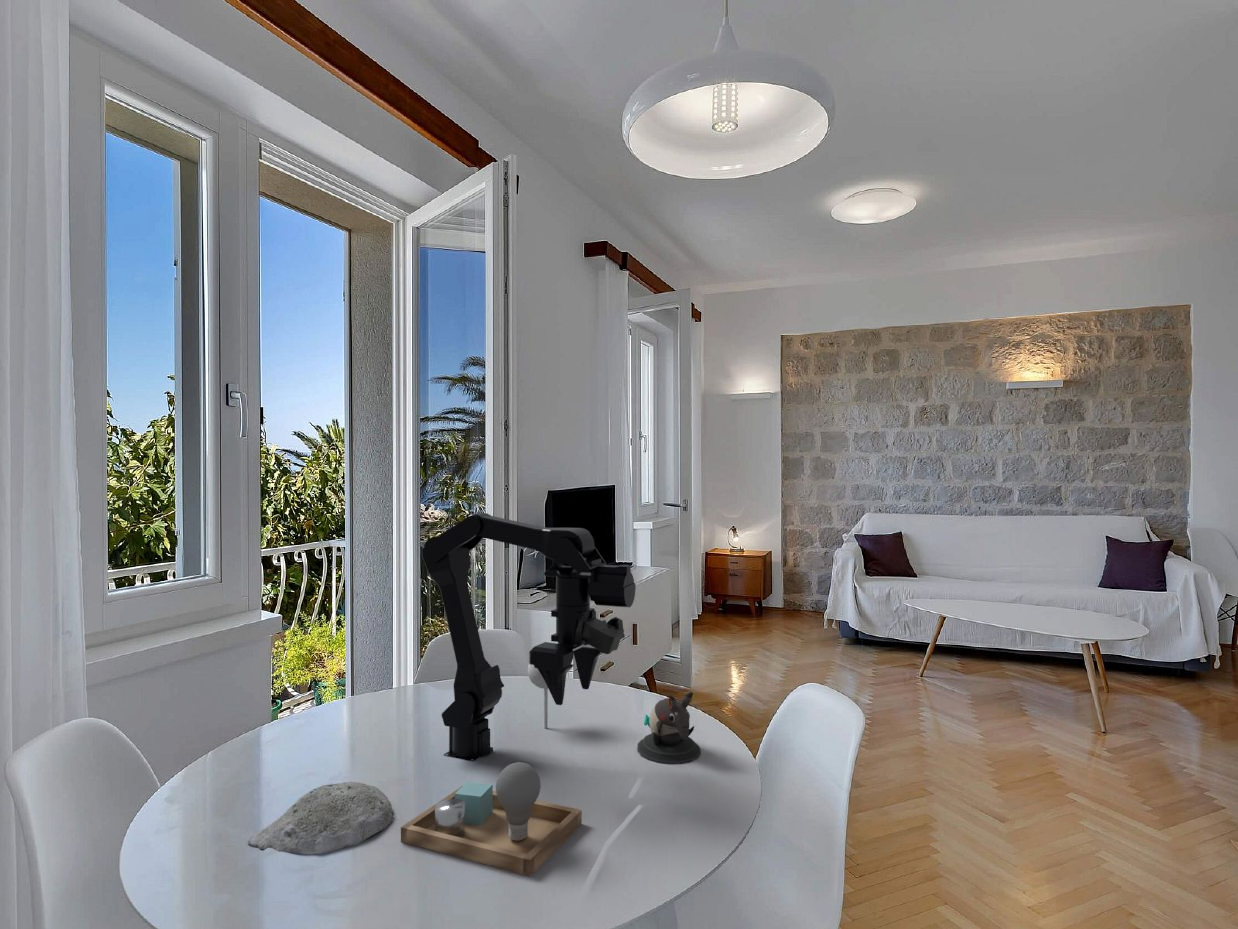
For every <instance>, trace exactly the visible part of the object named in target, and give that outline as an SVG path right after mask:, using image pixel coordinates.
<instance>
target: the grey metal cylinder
mask: <svg viewBox="0 0 1238 929" xmlns="http://www.w3.org/2000/svg"><path fill="white" fill-rule="evenodd" d="M440 801H441V800H440ZM438 802H439V801H438ZM438 802H436V803H437V804H436V803H435V804H436V806H435V831H437V832H441V833H445V834H448V835H452V836H456V837H460V838H463V837H464V835H465V802H464V801H462V800H460V799H447V800H443V801H441V802H439V803H438Z"/></svg>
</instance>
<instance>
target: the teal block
mask: <svg viewBox="0 0 1238 929" xmlns="http://www.w3.org/2000/svg"><path fill="white" fill-rule="evenodd" d="M493 786H494V784H492V783H485V782H475V781H474V782H473V781H466V782H465V783H464V784H463V785H461V786H460V787H461V788H460V787H459V788H460V789H459V788H458V789H459V790H458V791H457V792H456V793H455V799H460V800H462V801H464V802H465V824H473V825H482V824H483V822H484V821H485V820H486V819H487V818H488V817H489V816H490V815H491V813H492V812H493V791H494V790H493V788H494V787H493Z"/></svg>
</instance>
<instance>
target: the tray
mask: <svg viewBox="0 0 1238 929" xmlns="http://www.w3.org/2000/svg"><path fill="white" fill-rule="evenodd" d="M461 787H462V786H460V787H459V788H457V789H456V790H454V791H453V792H451V793H450V794H448V795H447V796H445V797H444V798H442V799H440V800H439V801H438V802H436V803H435V804H433V805H432V806H430V807H429V808H427V809H426V810H424V811H423V812H421V813H420V814H418V815H416V816H415V817H414V818H413V819H411V820H410V821H408V822H406V823H405V824H403V825H402V826H400V843H404V844H408V845H411V846H415V847H419V848H423V849H427V850H429V851H434V852H437V853H441V854H445V855H449V856H452V857H456V858H460V859H463V860H467V861H471V862H475V863H478V864H483V865H487V866H490V867H494V868H497V869H501V870H505V871H509V872H512V873H517V874H521V875H524V876H527V877H531V876H532V875H533V874H534V873H535V872H536V871H537V870H538V869H539V868H540V867H541V866H542V865H543V864H544V862H546V861H547V860H548V859H549V858H550V856H552V855H553V854H554V853H555V852H556V850H558V849H559V848H560V846H561V845H562V844H563V843H564V842H565V841H566V840H567V839H569V837H570V836H571V835H572V834H574V832H576V831H577V829H578V828H579V827H580V826H581V825H582V815H583V814H582V809H580V808H579V809H578V808H574V807H569V806H565V805H561V804H560V805H559V804H556V803H551V802H546V801H540V800H538V799H536V801H535V803H534V805H533V807H532V809H531V815H530V818H529V820H528V836H527V837H526V838H524V839H522V840H520V841H515V840H512V839H510V838H509V823H508V821H507V819H506V812H505V810H504V808H503V806H502V805H501V803H500V801H499V800H498V797H497V794H496V790H495V791H494V790H493V812H492V813H491V815H490V816H489V817H488V818H487V819H486V820H485V821H484V822H483V824H482V825H473V824H465V835H464V837H463V838H460V837H456V836H452V835H448V834H445V833H441V832H437V831H435V806H436V804H437V803H439V802H441V801H443V800H447V799H455V793H456V792H457V791H458V790H459V789H460V788H461Z"/></svg>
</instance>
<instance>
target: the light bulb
mask: <svg viewBox="0 0 1238 929" xmlns="http://www.w3.org/2000/svg"><path fill="white" fill-rule="evenodd" d="M495 792H496V794H497V797H498V800H499V801H500V803H501V805H502V806H503V808H504V810H505V812H506V819H507V821H508V823H509V838H510V839H512V840H515V841H520V840H522V839H524V838H526V837H527V836H528V820H529V818H530V815H531V809H532V807H533V805H534V803H535V801H536V800H538V797H539V795H540V792H541V779H540V776H539V774H538V772H537V770H536V769H535V768H534V767H533V766H531V764H528V763H526V762H522V761H517V762H513V763H509V764H508V765H507V766H505V767H504V768H503V769H502V770H501V772H500V773H499V775H498V776H497V779H496V782H495Z"/></svg>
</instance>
